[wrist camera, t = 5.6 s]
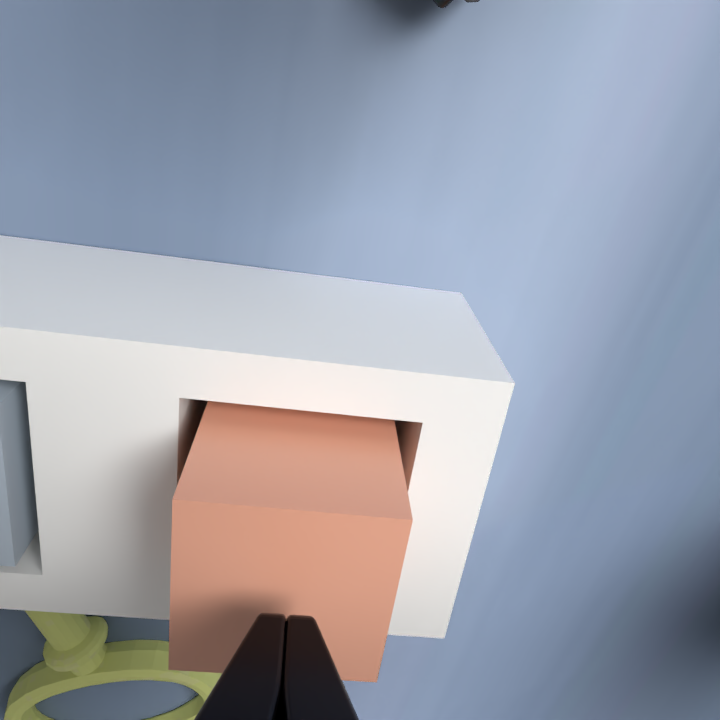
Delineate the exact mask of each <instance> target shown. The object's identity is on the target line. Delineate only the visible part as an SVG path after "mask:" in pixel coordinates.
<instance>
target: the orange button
mask: <svg viewBox="0 0 720 720" xmlns="http://www.w3.org/2000/svg"><path fill="white" fill-rule="evenodd" d="M412 522H413V518H412V513H411V507H410V502H409V496H408V491H407V486H406V480H405V475H404V470H403V464H402V459H401V453H400V448H399V443H398V437H397V432H396V427H395V421H394V420H391V419H382V418H372V417H362V416H352V415H343V414H333V413H323V412H313V411H304V410H294V409H284V408H274V407H264V406H255V405H245V404H235V403H225V402H216V401H208V402H207V405H206V408H205V410H204V413H203V416H202V419H201V421H200V424H199V427H198V430H197V432H196V435H195V438H194V441H193V444H192V446H191V449H190V452H189V455H188V457H187V460H186V463H185V466H184V468H183V471H182V474H181V477H180V479H179V482H178V485H177V488H176V490H175V493H174V496H173V499H172V533H171V576H170V620H169V663H168V670H178V671H195V672H212V673H223V671H224V670H225V668H226V666H227V665H228V663H229V662H230V660H231V658H232V657H233V655H234V653H235V652H236V650H237V648H238V647H239V645H240V644H241V642H242V640H243V639H244V637H245V635H246V634H247V632H248V631H249V629H250V627H251V626H252V624H253V622H254V621H255V619H256V618H257V616H258V615H259V614H260V613H278V614H284V615H285V616H286V620H287V617H288V616H289V615H306V616H312V617H313V618H314V619H315V620H316V622H317V624H318V627H319V629H320V631H321V633H322V636H323V638H324V640H325V643H326V645H327V647H328V650H329V652H330V654H331V657H332V659H333V661H334V664H335V666H336V668H337V671H338V673H339V675H340V677H341V680H347V681H364V682H377V678H378V674H379V670H380V665H381V661H382V656H383V652H384V647H385V643H386V638H387V634H388V629H389V625H390V620H391V616H392V611H393V607H394V602H395V598H396V593H397V589H398V584H399V580H400V576H401V571H402V567H403V562H404V558H405V553H406V549H407V544H408V540H409V535H410V531H411V526H412Z"/></svg>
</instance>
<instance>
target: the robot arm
mask: <svg viewBox="0 0 720 720" xmlns="http://www.w3.org/2000/svg"><path fill="white" fill-rule="evenodd" d="M194 720H359V719H358V717H357V714H356V712H355V710H354V708H353V705H352V703H351V701H350V698H349V696H348V694H347V691H346V689H345V687H344V684H343V682H342V680H341V677H340V675H339V673H338V671H337V668H336V666H335V664H334V661H333V659H332V657H331V654H330V652H329V650H328V647H327V645H326V643H325V640H324V638H323V636H322V633H321V631H320V629H319V627H318V624H317V622H316V620H315V619H314V618H313V617H312V616H306V615H289V616H288V617H287V620H286V616H285V615H284V614H278V613H260V614H259V615H258V616H257V618H256V619H255V621H254V622H253V624H252V626H251V627H250V629H249V631H248V632H247V634H246V635H245V637H244V639H243V640H242V642H241V644H240V645H239V647H238V648H237V650H236V652H235V653H234V655H233V657H232V658H231V660H230V662H229V663H228V665H227V666H226V668H225V670H224V671H223V673H222V675H221V676H220V678H219V679H218V681H217V683H216V684H215V686H214V688H213V689H212V691H211V693H210V694H209V696H208V697H207V699H206V701H205V702H204V704H203V706H202V707H201V709H200V711H199V712H198V714H197V715H196V717H195V719H194Z"/></svg>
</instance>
